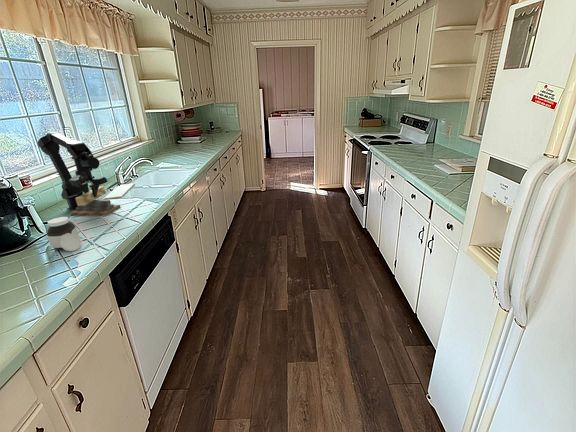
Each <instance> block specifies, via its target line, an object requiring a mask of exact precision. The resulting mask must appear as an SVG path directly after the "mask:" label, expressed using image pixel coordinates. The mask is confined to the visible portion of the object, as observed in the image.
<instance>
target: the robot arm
mask: <svg viewBox="0 0 576 432" xmlns="http://www.w3.org/2000/svg"><path fill="white" fill-rule="evenodd" d="M60 146H61V147H63V148H65V149H66V151H67V153H69V154H70V155H71V159H72V160H74V165H75V168H76V170H75V171H74V173H75V175H71V172H70V170H69V169H68V167H67V166H66V163H65V162H64V161H65V160H64V159H63V158H62V155H61V154H60V150H61V149H60V148H61V147H60ZM37 147H39V149H40V150H41V151H42V153H44V154H45V155H47V156H48V157H49V159H50V161H51V162H52V165H53V166H54V168H55V170H56V172H57V174H58V176H59V177H60V179H61V181H62V182H61V189H62V192H61V194H60V196H61V198H62V200H66V202H67V205H68V207H67V208H66V209H67V210H77V209H76V208H77V207H78V205H77V202H76V199H75V198H77V197H79V196H81V195H82V194H84V193H86V192H88V191H90V190H89V188H90V189H91V190H92V192H93V195H94V197H96V196H97V192H98V188H99V187H100V186H101V185H103V184H106V183H108V179H107V178H106V177H105V176H98V177H96V178H95V175H93V173H92V171H93V170H96V169H98V168H99V166H100V160H99V159H98V158H97V157H94V155H93V152H92V150H90V149H89V147H88V146H87V145H86V144H85V143H84V142H83V141H79V140H73V139H70V138H69V137H67V136H65V135H63V134H61V133H60V132H58V131H51V132H47V133H46V134H45V135H44V136H42V137H40V138H39V140H38V141H37ZM89 184H90V185H89Z"/></svg>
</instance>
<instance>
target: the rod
mask: <svg viewBox="0 0 576 432" xmlns="http://www.w3.org/2000/svg"><path fill="white" fill-rule="evenodd" d="M106 193H107V192H106V189H105V186H104V185H102V186H99V188H98V192H97V196H96V197H94V195H93V192H92V189H91V190H89V191H88V192H86V193H84V192H83V194H82V195H81V196H79V197H77V198H75V199H76V202H77V205H78V206H83V205H86V204H88V203H90V202H92V201H93V200H98V199H99V198H100V197H102V196H103V195H105V194H106Z"/></svg>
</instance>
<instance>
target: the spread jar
mask: <svg viewBox="0 0 576 432" xmlns="http://www.w3.org/2000/svg"><path fill="white" fill-rule="evenodd" d="M47 224H48V228H47V230H46V237H47V241H48V243H49V245H50V247H51V248H52V249H54V250H57V251H67V252H73V251H76V250H78V249H80V247H81V244H82V240H81V237H80V234H79V231H78V229H77V226H76V225H75V223H73V222H71V221H70V219H69V216H60V217H54V218H52V219H50V220H48V221H47Z"/></svg>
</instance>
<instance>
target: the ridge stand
mask: <svg viewBox="0 0 576 432" xmlns="http://www.w3.org/2000/svg"><path fill="white" fill-rule="evenodd" d="M120 208H121V205H120V204H113V203H111V199H105V200H103V199H95V200H93V201H92V202H90V203H88V204H86V205H83V206H78V207H77V208H76V209H74V210H72V211H71V212H70V213H69V214H70V216H108V215H109V214H111V213H113V212H115V211H116V210H119V209H120Z"/></svg>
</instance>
